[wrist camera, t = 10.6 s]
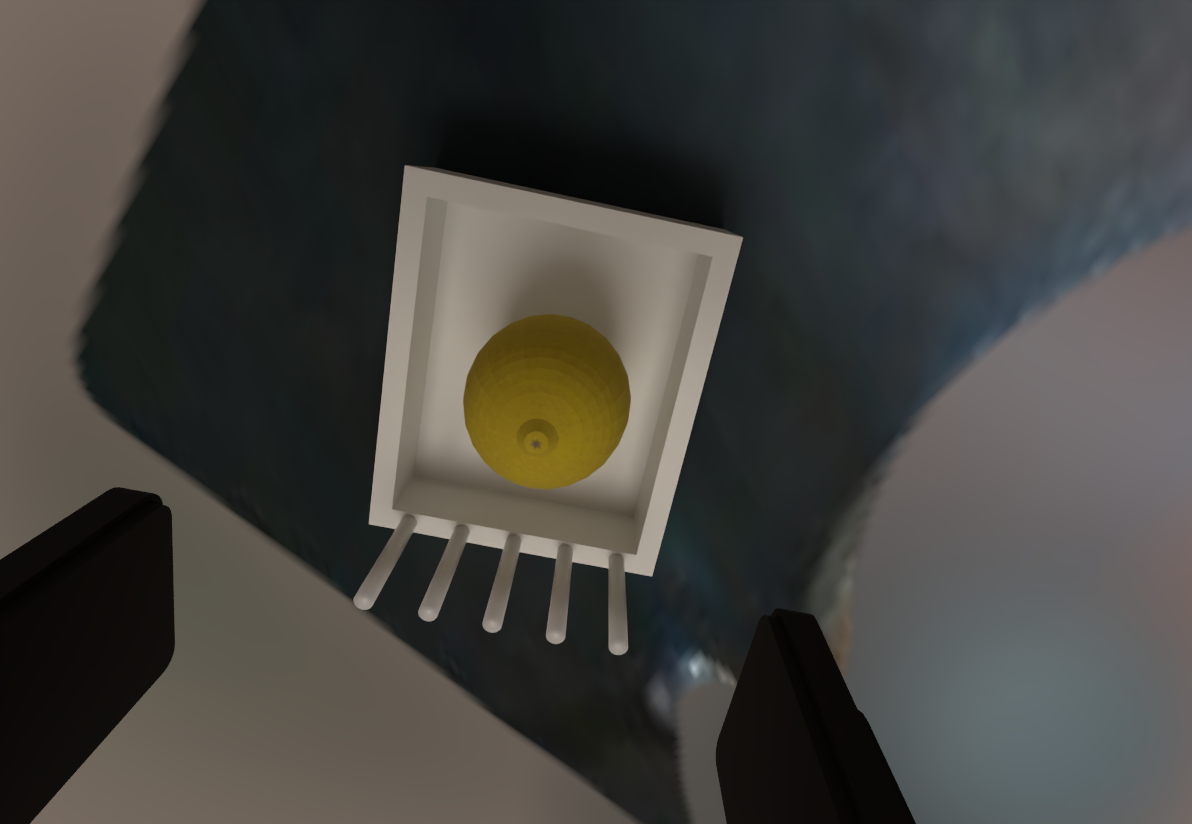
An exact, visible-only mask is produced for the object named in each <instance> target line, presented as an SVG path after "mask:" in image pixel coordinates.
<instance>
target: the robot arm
mask: <svg viewBox="0 0 1192 824" xmlns="http://www.w3.org/2000/svg"><path fill="white" fill-rule="evenodd" d="M173 594H174V591H173V547H172V514H171V510H170V508H169V507H167V506H165V505H163V503H162V500H161V498H160V497H159V496H158V495H156V494H153V493H147V492H142V491H137V490H130V489H126V488H120V487H119V488H112V489H110V490H108V491H106V492H105V493H103V494H102V495H100V496H99V497H97V498H96V499H94V500H93V501H91V502H90V503H88V504H87V505H85V506H83V507H82V508H80V509H79V510H77V511H75V512H74V513H72V514H71V515H69V516H68V517H66V518H64V519H63V520H62V521H60V522H58V523H57V524H55V525H54V526H52V527H50V528H49V529H47V530H46V531H44V532H43V533H41V534H40V535H38V536H36V537H35V538H33V539H32V540H30V541H29V542H27V543H26V544H24V545H23V546H21V547H19V548H18V549H16V550H15V551H13V552H12V553H10V554H8V555H7V556H5V557H4V558H2V559H1V560H0V824H30V823H31V822H32V820H33V819H34V818H35V817H36V816H37V815H38V814H39V813H40V811H41V810H42V809H43V808H44V807H45V806H46V805H47V804H48V802H49V801H50V800H51V799H52V798H53V797H54V796H55V794H56V793H57V792H58V791H59V790H60V789H61V788H62V787H63V785H64V784H65V783H66V782H67V781H68V779H70V777H71V776H72V775H73V774H74V773H75V772H76V771H77V769H78V768H79V767H80V766H81V765H82V764H83V763H84V762H85V760H86V759H87V758H88V757H89V756H90V755H91V754H92V752H93V751H94V750H95V749H96V748H97V747H98V746H99V745H100V743H101V742H102V741H103V740H104V739H105V738H106V737H107V736H108V734H109V733H110V732H111V731H112V730H113V729H114V728H115V726H116V725H117V724H118V723H119V722H120V721H121V720H122V718H123V717H124V716H125V715H126V714H127V713H128V712H129V711H130V710H131V708H132V707H133V706H134V705H135V704H136V703H137V702H138V701H139V699H140V698H141V697H142V696H143V695H144V694H145V693H146V692H147V690H148V689H149V688H150V687H151V686H152V685H153V684H154V682H155V681H156V680H157V679H158V678H159V677H160V676H161V675H162V673H163V672H164V671H165V670H166V668H167V666H168V665H169V663H170V661H171V658H172V656H173V653H174V647H175V633H174V595H173ZM716 766H717V772H718V777H719V782H720V788H721V794H722V800H723V805H724V811H725V816H726V821H727V824H916V823H915V821H914V819H913V817H912V814H911V812H910V810H909V808H908V806H907V804H906V801H905V799H904V797H903V795H902V793H901V791H900V789H899V787H898V784H897V782H896V780H895V778H894V776H893V774H892V772H891V769H890V767H889V765H888V763H887V761H886V759H885V757H884V755H883V752H882V750H881V748H880V746H879V744H878V742H877V740H876V738H875V735H874V733H873V731H872V729H871V727H870V725H869V723H868V721H867V719H866V718H865V716H864V715H863V713H862V712H860V711H859V710H858V709H857V707H856V705H855V703H854V701H853V699H852V696H851V694H850V692H849V690H848V688H847V686H846V683H845V681H844V679H843V677H842V675H841V672H840V670H839V668H838V666H837V664H836V662H835V659H834V657H833V655H832V653H831V651H830V648H829V646H828V644H827V642H826V640H825V638H824V635H823V633H822V631H821V629H820V627H819V625H818V622H817V620H816V619H815V617H814V616H813V615H811V614H807V613H801V612H796V611H790V610H785V609H779V608H778V609H775V610H774V612H773V613H772V615H771V616H767V615H764V616H762V617H761V619H760V621H759V623H758V626H757V629H756V632H755V635H754V638H753V640H752V643H751V646H750V649H749V652H748V655H747V658H746V660H745V663H744V666H743V669H742V672H741V675H740V678H739V681H738V683H737V686H736V689H735V692H734V695H733V698H732V701H731V704H730V707H729V709H728V712H727V715H726V718H725V721H724V724H723V726H722V729H721V732H720V735H719V738H718V742H717V748H716Z"/></svg>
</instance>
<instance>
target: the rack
mask: <svg viewBox="0 0 1192 824" xmlns="http://www.w3.org/2000/svg"><path fill="white" fill-rule="evenodd" d="M742 240H743V237H741V236H739V235H736V234H734V233H731V232H729V231H727V230H724V229H720V228H715V227H711V226H706V225H701V224H697V223H692V222H687V221H683V220H678V219H673V218H669V217H664V216H659V215H654V214H650V213H645V212H640V211H636V210H631V209H626V208H622V207H617V206H612V205H608V204H603V203H598V202H594V201H589V200H584V199H579V198H575V197H570V196H565V195H561V194H556V193H551V192H547V191H542V190H537V189H533V188H528V187H523V186H519V185H514V184H509V183H504V182H500V181H495V180H490V179H486V178H481V177H476V176H472V175H467V174H462V173H458V172H453V171H448V170H444V169H439V168H434V167H421V166H407V165H405V168H404V178H403V188H402V198H401V208H400V218H399V228H398V238H397V248H396V258H395V268H394V278H393V288H392V298H391V308H390V318H389V328H388V338H387V348H386V358H385V368H384V378H383V388H382V398H381V408H380V418H379V428H378V438H377V448H376V458H375V467H374V477H373V487H372V497H371V507H370V517H369V524H371V525H377V526H382V527H387V528H393V529H395V531H394V533H393V534H392V536H391V538H390V539H389V541H388V543H387V544H386V546H385V548H384V549H383V551H382V553H381V554H380V556H379V557H378V559H377V561H376V562H375V564H374V566H373V567H372V569H371V571H370V572H369V574H368V576H367V577H366V579H365V581H364V582H363V584H362V585H361V587H360V589H359V590H358V592H357V594H356V595H355V597H354V604H355V605H356V607H358V608H359V609H362V610H367V609H370V608H371V607H372V605H373V604H374V602H375V600H376V598H377V596H378V595H379V593H380V591H381V589H382V587H383V585H384V584H385V582H386V580H387V578H388V576H389V575H390V573H391V571H392V569H393V567H394V566H395V564H396V562H397V560H398V558H399V557H400V555H401V553H402V551H403V549H404V547H405V546H406V544H407V542H408V540H409V538H410V537H411V535H412V533H413V532H414V533H420V534H425V535H431V536H436V537H441V538H447V539H450V540H449V542H448V544H447V547H446V549H445V551H444V554H443V556H442V558H441V560H440V563H439V565H438V567H437V570H436V572H435V574H434V576H433V579H432V581H431V583H430V585H429V588H428V590H427V592H426V595H425V597H424V599H423V601H422V604H421V606H420V608H419V611H418V614H419V616H420V618H422V619H423V620H425V621H433V620H435V619H436V618H437V616H438V613H439V611H440V608H441V606H442V603H443V600H444V598H445V595H446V593H447V590H448V588H449V585H450V582H451V580H452V577H453V575H454V572H455V570H456V567H457V565H458V562H459V559H460V557H461V554H462V552H463V549H464V547H465V544H466V542H469V543H474V544H479V545H485V546H490V547H496V548H501V549H503V552H502V556H501V559H500V563H499V566H498V570H497V573H496V577H495V580H494V584H493V588H492V591H491V595H490V598H489V602H488V605H487V609H486V612H485V616H484V619H483V628H484V629H485V630H486V631H488V632H491V633H494V632H497V631H499V630H500V629H501V627H502V623H503V619H504V614H505V610H506V606H507V602H508V598H509V593H510V589H511V585H512V581H513V576H514V572H515V568H516V564H517V560H518V555H519V552H523V553H528V554H533V555H539V556H544V557H550V558H555V559H556V565H555V572H554V579H553V587H552V594H551V602H550V609H549V617H548V624H547V631H546V638H547V640H548V641H549V642H551V643H553V644H559V643H561V642H563V641H564V639H565V633H566V623H567V612H568V601H569V590H570V579H571V568H572V562H577V563H582V564H588V565H593V566H598V567H604V568H609V650H610V651H611V653H613V654H615V655H622V654H624V653H625V652H626V651H627V650H628V635H627V613H626V591H625V572H631V573H636V574H642V575H647V576H652V575H653V571H654V567H655V564H656V560H657V556H658V552H659V549H660V545H661V541H662V538H663V534H664V530H665V526H666V523H667V519H668V515H669V512H670V508H671V504H672V500H673V497H674V493H675V489H676V485H677V482H678V478H679V474H680V471H681V467H682V463H683V459H684V456H685V452H686V448H687V445H688V441H689V437H690V433H691V430H692V426H693V422H694V418H695V415H696V411H697V407H698V404H699V400H700V396H701V392H702V389H703V385H704V381H705V378H706V374H707V370H708V366H709V363H710V359H711V355H712V351H713V348H714V344H715V340H716V337H717V333H718V329H719V325H720V322H721V318H722V314H723V310H724V307H725V303H726V299H727V296H728V292H729V288H730V284H731V281H732V277H733V273H734V270H735V266H736V262H737V258H738V255H739V251H740V247H741V243H742ZM546 314H556V315H561V316H567V317H572V318H575V319H577V320H579V321H581V322H584V323H586V324H588V325H590V326H592V327H593V328H594V329H595V330H597V331H598V332H599V333H601V334H602V335H603V336H604V337H606V338H607V339H608V341H609V342H610V343H611V345H612V346H613V347H614V349H615V350H616V351H617V353H618V354H619V356H620V358H621V360H622V363H623V365H624V367H625V370H626V372H627V374H628V380H629V387H630V394H631V403H630V411H629V418H628V423H627V426H626V428H625V431H624V433H623V436H622V438H621V440H620V443H619V445H618V446H617V448H616V449H615V450H614V452H613V453H612V454H611V456H610V457H609V458H608V460H607V461H606V462H605V464H604V465H602V466H601V467H600V468H599V469H597V470H596V471H595V472H594V473H592V474H591V475H590V476H588V477H587V478H585V479H583V480H580V481H578V482H576V483H574V484H571V485H569V486H565V487H559V488H554V489H534V488H529V487H525V486H522V485H518V484H515V483H513V482H511V481H509V480H507V479H505V478H503V477H502V476H500V475H498V474H497V473H496V472H495V471H494V470H493V469H491V468H490V467H489V466H488V465H487V464H486V463H485V462H484V461H483V459H482V458H481V457H480V455H479V454H478V452H477V451H476V449H475V448H474V446H473V444H472V442H471V439H470V436H469V434H468V431H467V428H466V425H465V417H464V407H463V396H464V391H465V385H466V379H467V375H468V373H469V370H470V368H471V366H472V364H473V362H474V360H475V358H476V356H477V354H478V352H479V351H480V350H481V349H482V348H483V346H484V345H485V344H486V343H487V342H488V341H489V339H490V338H491V337H492V336H493V335H494V334H496V333H497V332H499V331H500V330H502V329H503V328H505V327H506V326H508V325H509V324H511V323H512V322H515V321H518V320H521V319H524V318H526V317H529V316H534V315H546Z"/></svg>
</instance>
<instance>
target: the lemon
mask: <svg viewBox="0 0 1192 824" xmlns="http://www.w3.org/2000/svg"><path fill="white" fill-rule="evenodd" d="M630 403H631V394H630V387H629V380H628V374H627V372H626V370H625V367H624V365H623V363H622V360H621V358H620V356H619V354H618V353H617V351H616V350H615V349H614V347H613V346H612V345H611V343H610V342H609V341H608V339H607V338H606V337H604V336H603V335H602V334H601V333H599V332H598V331H597V330H595V329H594V328H593V327H592V326H590V325H588V324H586V323H584V322H581V321H579V320H577V319H575V318H572V317H567V316H561V315H556V314H546V315H534V316H529V317H526V318H524V319H521V320H518V321H515V322H512V323H511V324H509V325H508V326H506V327H505V328H503V329H502V330H500V331H499V332H497V333H496V334H494V335H493V336H492V337H491V338H490V339H489V341H488V342H487V343H486V344H485V345H484V346H483V348H482V349H481V350H480V351H479V352H478V354H477V356H476V358H475V360H474V362H473V364H472V366H471V368H470V370H469V373H468V375H467V379H466V385H465V391H464V396H463V407H464V417H465V425H466V428H467V431H468V434H469V436H470V439H471V442H472V444H473V446H474V448H475V449H476V451H477V452H478V454H479V455H480V457H481V458H482V459H483V461H484V462H485V463H486V464H487V465H488V466H489V467H490V468H491V469H493V470H494V471H495V472H496V473H497V474H498V475H500V476H502V477H503V478H505V479H507V480H509V481H511V482H513V483H515V484H518V485H522V486H525V487H529V488H534V489H554V488H559V487H565V486H569V485H571V484H574V483H576V482H578V481H580V480H583V479H585V478H587V477H588V476H590V475H591V474H592V473H594V472H595V471H596V470H597V469H599V468H600V467H601V466H602V465H604V464H605V462H606V461H607V460H608V458H609V457H610V456H611V454H612V453H613V452H614V450H615V449H616V448H617V446H618V445H619V443H620V440H621V438H622V436H623V433H624V431H625V428H626V426H627V423H628V418H629V411H630Z"/></svg>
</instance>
